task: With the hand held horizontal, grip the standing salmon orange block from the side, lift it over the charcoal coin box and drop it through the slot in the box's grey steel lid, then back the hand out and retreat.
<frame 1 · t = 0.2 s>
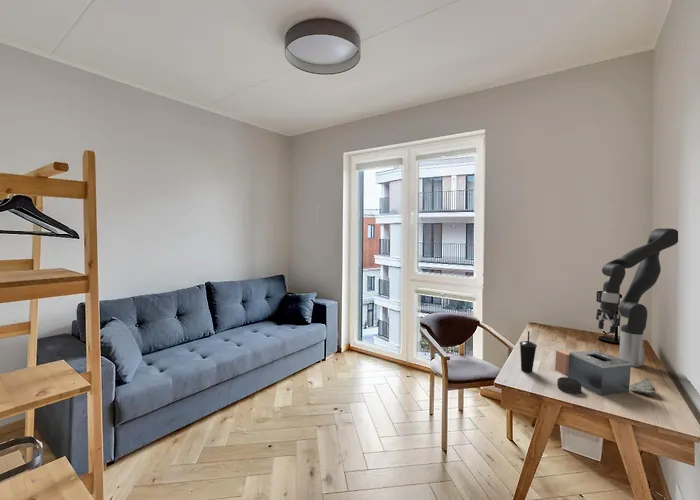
hand: (606, 330, 179), 18 cm above the table, tool pointing down, fingers open, 8 cm apart
coin box: (597, 385, 153), on the table
rock sample: (642, 393, 147), on the table
salmon orange block: (562, 372, 167), on the table
drinking cup: (526, 371, 167), on the table
smart speaker: (568, 390, 148), on the table
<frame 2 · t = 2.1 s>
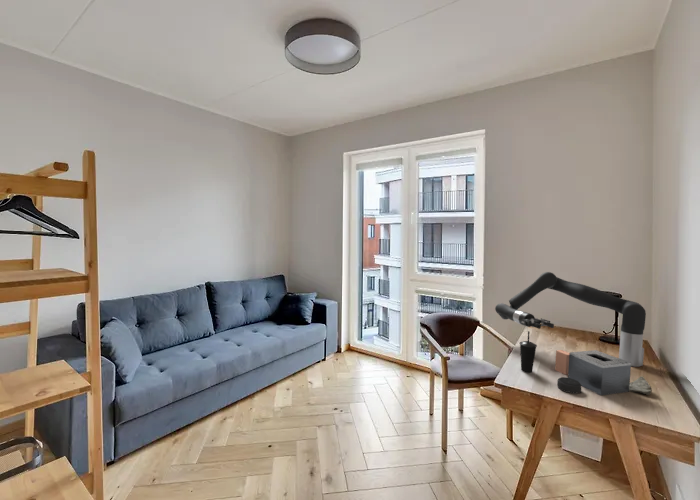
hand: (546, 326, 177), 20 cm above the table, tool horizontal, fingers open, 8 cm apart
rock sample: (638, 392, 148), on the table
everything else where it was.
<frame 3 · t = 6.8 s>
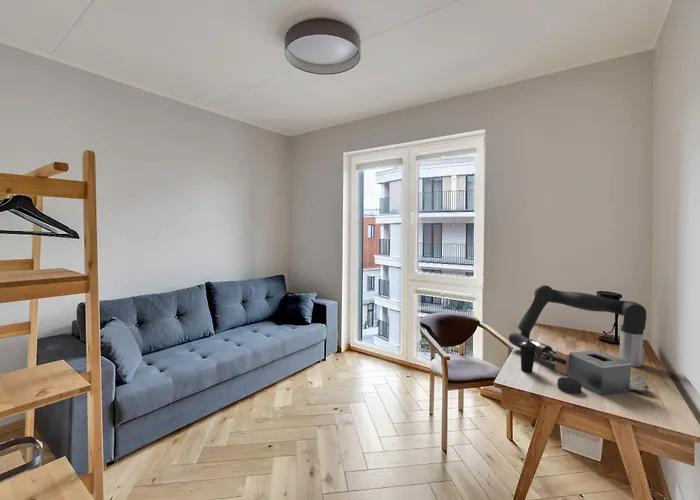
hand: (568, 362, 164), 6 cm above the table, tool horizontal, fingers closed on salmon orange block, 3 cm apart
rock sample: (635, 391, 149), on the table, touching coin box
salmon orange block: (563, 371, 167), on the table, touching gripper
everything else where it was.
when the fingers open (20 cm above the table, at t = 10.9 s): salmon orange block drops 14 cm, resting in coin box.
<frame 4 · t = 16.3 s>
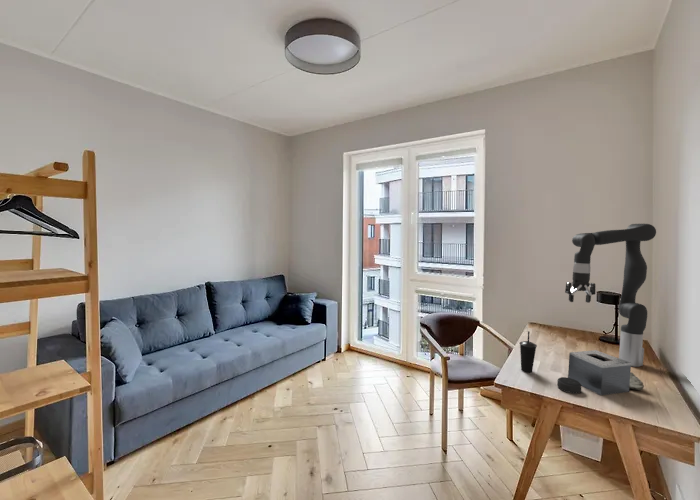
hand: (579, 302, 177), 33 cm above the table, tool pointing down, fingers open, 8 cm apart
rock sample: (630, 388, 151), on the table, touching coin box
salmon orange block: (597, 385, 153), resting in coin box
everything else where it was.
at the end: salmon orange block 0.2 cm from the coin box (horizontally); salmon orange block resting in coin box; the gripper is holding nothing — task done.
